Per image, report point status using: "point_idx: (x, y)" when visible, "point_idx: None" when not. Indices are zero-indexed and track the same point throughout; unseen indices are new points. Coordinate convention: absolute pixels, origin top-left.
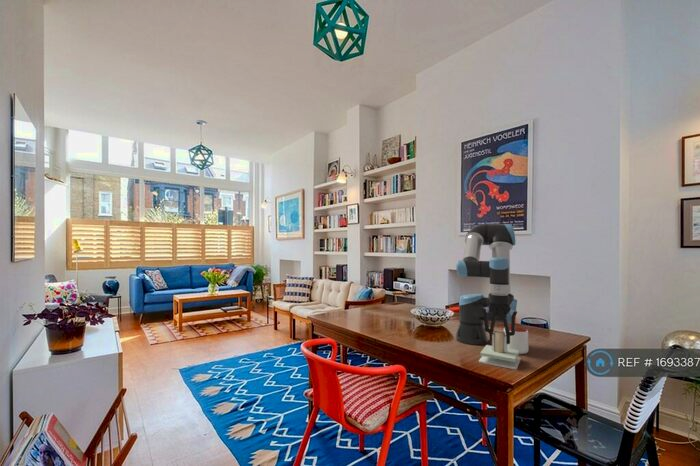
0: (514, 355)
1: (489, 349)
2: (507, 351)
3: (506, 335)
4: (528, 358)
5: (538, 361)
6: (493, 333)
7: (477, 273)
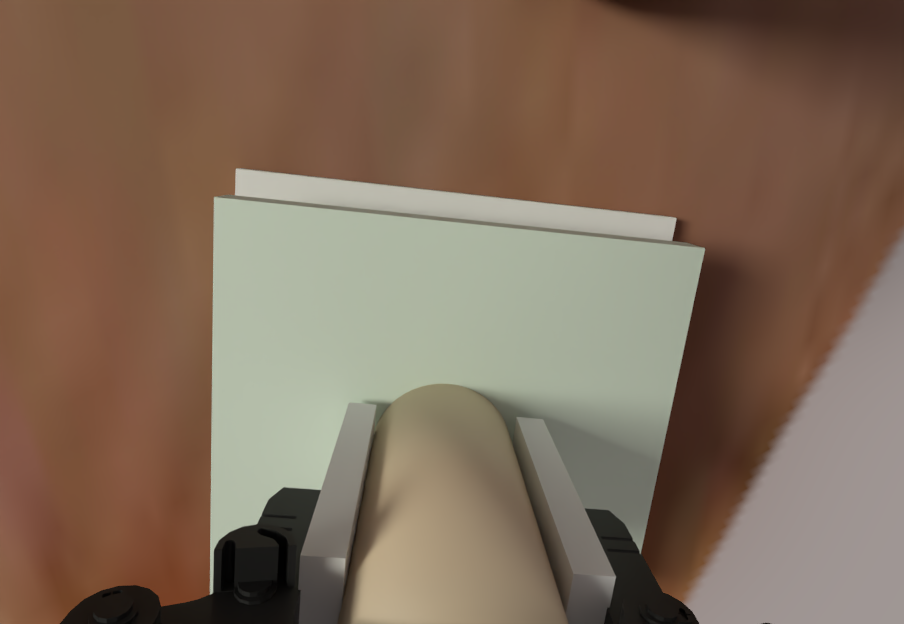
0: None
1: (298, 428)
2: (541, 400)
3: None
4: (769, 117)
5: (865, 184)
6: (309, 594)
7: None
